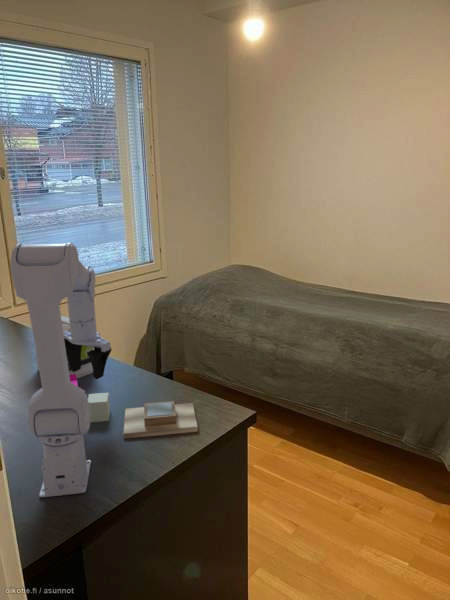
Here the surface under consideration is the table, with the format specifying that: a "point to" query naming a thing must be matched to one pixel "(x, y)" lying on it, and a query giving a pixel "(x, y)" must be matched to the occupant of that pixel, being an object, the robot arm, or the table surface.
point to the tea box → (85, 360)
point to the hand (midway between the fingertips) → (87, 373)
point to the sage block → (99, 407)
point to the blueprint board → (142, 431)
